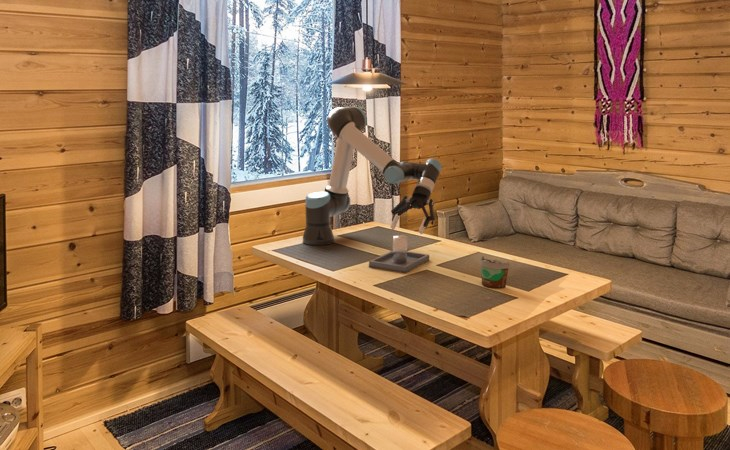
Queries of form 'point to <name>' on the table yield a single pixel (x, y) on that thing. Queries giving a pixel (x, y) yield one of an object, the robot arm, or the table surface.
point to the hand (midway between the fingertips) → (406, 230)
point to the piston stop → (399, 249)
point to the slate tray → (387, 264)
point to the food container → (494, 273)
